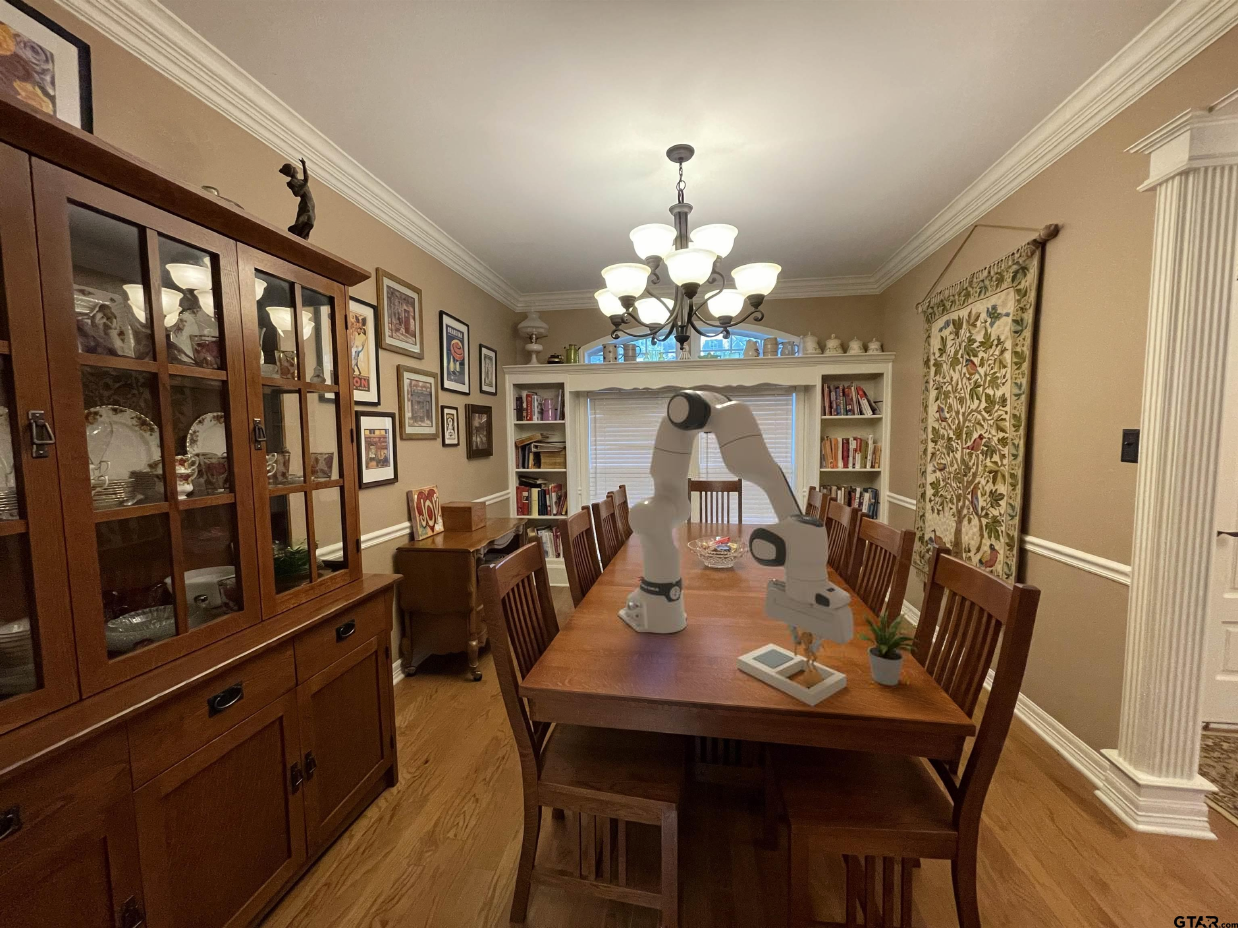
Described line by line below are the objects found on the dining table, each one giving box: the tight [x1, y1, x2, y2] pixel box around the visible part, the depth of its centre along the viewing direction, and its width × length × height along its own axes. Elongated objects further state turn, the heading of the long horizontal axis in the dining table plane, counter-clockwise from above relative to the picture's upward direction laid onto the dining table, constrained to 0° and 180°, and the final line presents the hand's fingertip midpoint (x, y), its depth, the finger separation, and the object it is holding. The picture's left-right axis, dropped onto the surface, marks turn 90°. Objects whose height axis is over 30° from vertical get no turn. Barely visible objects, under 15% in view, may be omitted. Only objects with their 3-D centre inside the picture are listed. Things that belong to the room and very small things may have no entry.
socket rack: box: [736, 643, 847, 707], centre depth 109 cm, size 20×13×3 cm, turn 35°
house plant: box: [852, 609, 922, 686], centre depth 106 cm, size 14×14×16 cm
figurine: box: [793, 631, 827, 688], centre depth 105 cm, size 8×6×12 cm
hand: (805, 648), depth 105 cm, fingers closed on figurine, 3 cm apart
